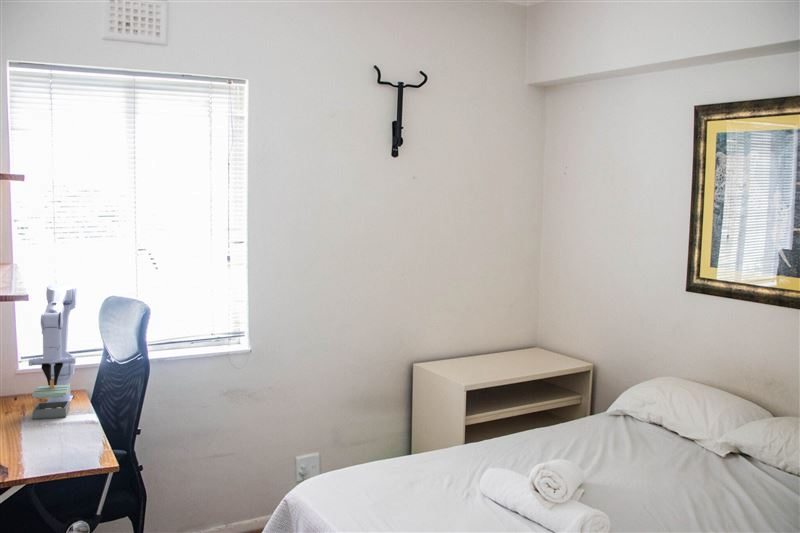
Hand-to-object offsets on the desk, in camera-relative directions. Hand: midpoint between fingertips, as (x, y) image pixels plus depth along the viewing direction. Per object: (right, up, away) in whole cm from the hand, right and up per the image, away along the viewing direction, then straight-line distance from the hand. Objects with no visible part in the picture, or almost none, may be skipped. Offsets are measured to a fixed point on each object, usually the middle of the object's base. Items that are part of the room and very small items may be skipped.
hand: (52, 384), depth 232 cm
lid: (+1, -3, -2) cm, 4 cm away
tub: (+1, -10, -2) cm, 10 cm away
